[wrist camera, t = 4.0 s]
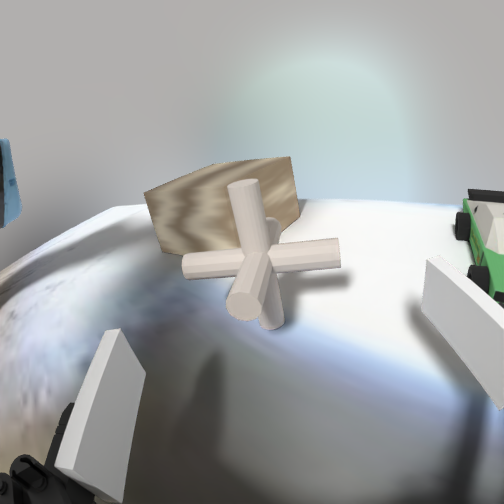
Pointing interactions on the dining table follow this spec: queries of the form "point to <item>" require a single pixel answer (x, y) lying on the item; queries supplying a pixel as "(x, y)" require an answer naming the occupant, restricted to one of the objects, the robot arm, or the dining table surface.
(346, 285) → the dining table surface
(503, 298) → the toy car
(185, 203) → the birch block
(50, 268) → the dining table surface
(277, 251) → the pipe connector
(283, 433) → the dining table surface
